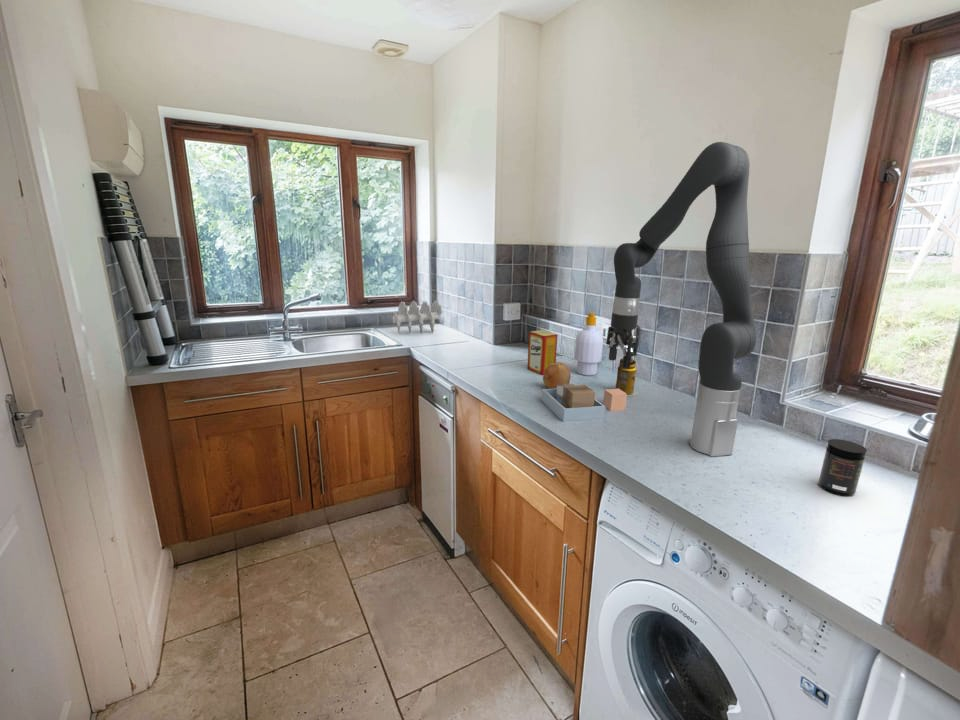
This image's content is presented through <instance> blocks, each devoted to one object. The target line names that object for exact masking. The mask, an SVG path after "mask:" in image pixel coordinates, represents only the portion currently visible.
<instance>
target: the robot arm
mask: <svg viewBox="0 0 960 720" xmlns="http://www.w3.org/2000/svg"><path fill="white" fill-rule="evenodd" d="M750 163H751V162H750V157H749V155H748V153H747V151H746V150H745V149H744V148H742V147H741V146H738V145H734V144H732V143H729V142H724V141H716V142H713V143H711V144H709V145H707V146H706V147H705V148H704V149H703V150H702V151H701V152H700V153H699V155H698V156H697V157H696V159H695V160H694V161H693V163H692V164H691V165H690V167H689V169H688V170H687V171H686V172H685V175H684V176H683V177H682V179H681V180H680V182H678V185H677V186H676V187H675V189H674V190H673V192H672V193H671V194H669V197H668V198H667V199H666V201H665V202H664V203H663V204H662V205H661V207H660V208H659V209H658V210H657V211H656V212H655V213H654V215H653V216H651V217H650V218H649V219H648V220H647V222H645V224H644V225H643V226H642V227H641V229H640V230H639V238H640V239H639V240H637V241H636V242H625V243H622V244H620V245H618V247H617V248H616V250H615V252H614V257H613V267H614V276H615V281H616V283H615V292H614V299H613V303H612V311H611V319H610V326H608V329H607V337H606V343H605V344H606V345H607V346H608V348H609V353H608V360H609V361H616V360H617V356H618V355H617V354H618V347H619V348H620V349H621V351H622V353H623V357H622V358H623V363H622V367H623V368H630V362H631V359H632V357H636V356H637V353H638V344H639V336H638V335H633V331H634V330H635V329H636V328H637V327H638V320H639V319H638V318H639V312H640V311H639V310H640V297H641V289H642V280H641V278H639V277H637V276H636V273H635V269H637V268H642V267H644V266H646V265H647V264H648V263H649V262H650V261H651V260H652V259H653V257H654V256H655V255H656V253H657V251H658V250H659V249H660V246H661V245H662V244H663V243H664V242H665V241H666V240H668V239H669V237H670V236H671V235H673V233H674V232H675V231H676V230H677V229H678V227H680V225H681V224H682V222H683V221H684V219H685V217H686V214H687V212H688V211H689V209H690V207H691V205H692V204H693V203H694V201H695V200H696V199H697V198H698V197H699V196H700V195H701V194H702V193H703V192H705V190H707V189H709V188H710V187H711V186H714V193H715V213H714V216H713V220H712V223H711V226H710V228H709V231H708V233H707V238H706V241H705V259H706V260H705V262H706V270H707V274H708V276H709V278H710V281H711V283H712V284H713V287H714V289H715V290H716V292H717V294H718V297H719V299H720V301H721V305H722V322H716V323H713V324H710V325H709V326H707V327H706V328H705V330H704V331H703V333H702V337H701V340H700V346H699V347H700V349H699V360H698V373H699V386H698V391H697V397H696V402H695V403H696V404H695V410H694V417H693V423H692V424H693V425H692V429H691V430H692V431H691V436H690V437H691V438H690V443H689V444H690V447H691V448H692V449H694V450H695V451H697V452H699V453H702V454H705V455H708V456H710V457H720V456H721V457H722V456H727V455H728V456H729V455H730V456H731V455H733V451H734V445H735V441H736V440H735V439H736V434H737V430H738V423H739V420H738V419H737V418H736V416H737V411H738V410H737V409H738V404H739V400H740V395H741V388H742V384H743V381H742V380H743V379H742V377H741V375H739V374H737V373H735V372H734V362H735V360H738V359H743V358H746V357H748V356H750V355H751V353H753V351H754V350H755V347H756V343H757V333H756V326H755V319H754V314H753V313H754V312H753V306H752V298H751V297H752V296H751V293H752V292H751V276H750V275H751V274H750V243H749V242H750V241H749V240H750V239H749V220H748V219H749V218H748V193H749V191H748V190H749V180H750V179H749V177H750V167H751V166H750Z"/></svg>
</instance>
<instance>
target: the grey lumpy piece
mask: <svg viewBox="0 0 960 720" xmlns="http://www.w3.org/2000/svg"><path fill="white" fill-rule="evenodd" d="M417 303H418V302H417V301H415V300H412V302H411V303H409V308H408V306H406V303H405V301H400V303H399V305H398V308H397V312H396V311H394V315H392V323H393V324H396V327H397V332H398V334H399V335H401V326H402V325H403V324H404V323H407V327H408V332H409V333H410V334H412V325H413V324H414V322H419V323H418V324H419V325H418V328H419V331H420V333H421V334H424V333H423V332H424V326H423V325H425V321H429V328H430V331H431V333H434V331H435V324H436V322H435V321H436V320H440V318H441V317H440V316H441V315H442V314H443V308H442V304H440V303H439V300H434V302H432V304H431V305H430V304H428V301H427V300H425V301H422V303H421V305H420V307H419V306H418V304H417Z"/></svg>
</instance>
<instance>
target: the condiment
mask: <svg viewBox="0 0 960 720" xmlns="http://www.w3.org/2000/svg"><path fill="white" fill-rule="evenodd" d="M622 363H623V357H622V358H620V359H619V363H618V364H619V365H618V367H617V373H616V375H617V376H616V381H615V382H616V383H615V389H620V390H622V391H623V392H625V393H626V394H627V397H633V396H635V395H639V392H635V391H634V390H635V381H636V372H637V368H636V364H637V361H636V360H635V359H633V358H631V362H630V368H623V367H622ZM633 392H634V393H636V394H633ZM632 394H633V395H632Z"/></svg>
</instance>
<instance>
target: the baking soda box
mask: <svg viewBox="0 0 960 720" xmlns="http://www.w3.org/2000/svg"><path fill="white" fill-rule="evenodd" d="M557 348H558V334H557V333H554V332H549V330H544V329H541V330H533V331H532V330H530V331H529V332H528V348H527V349H528V350H527V351H528V352H527V370H528V371H531V372H533V373H535V374H539V375H541V376H543V374H544V371H545V369H546V368H547V367H548V366H549V365H551V364H553V363H556V362H557V351H558V350H557Z"/></svg>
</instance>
